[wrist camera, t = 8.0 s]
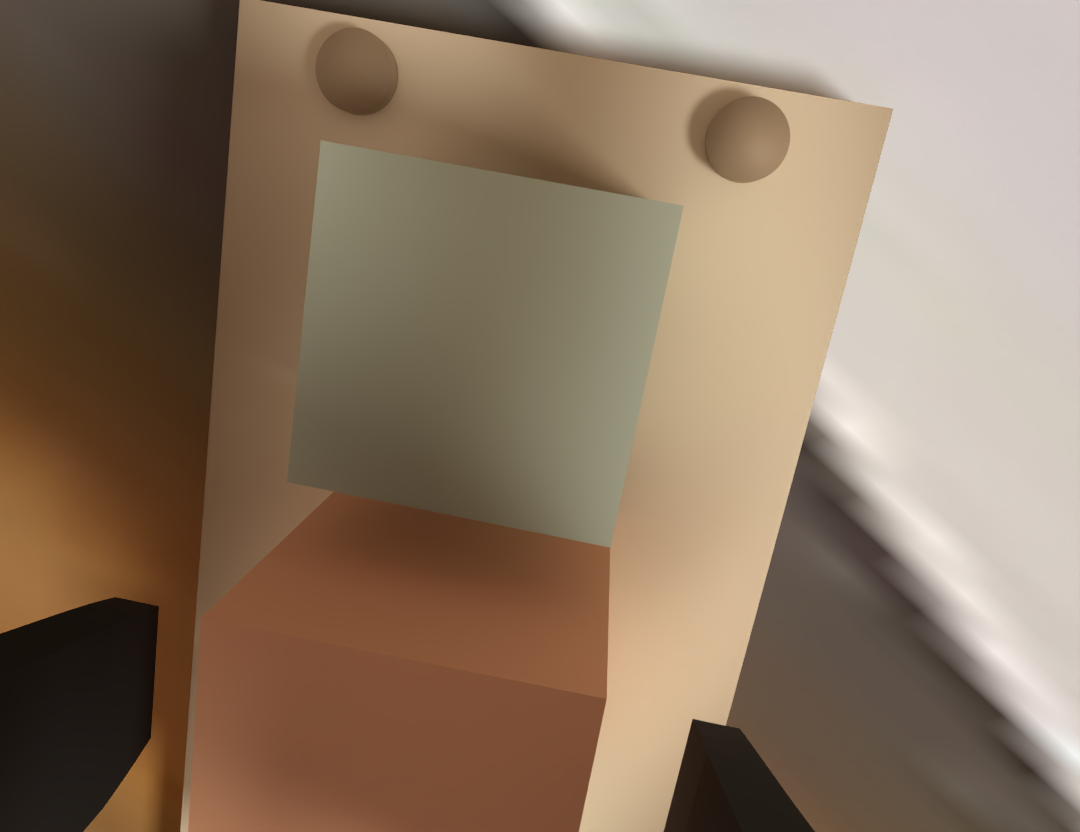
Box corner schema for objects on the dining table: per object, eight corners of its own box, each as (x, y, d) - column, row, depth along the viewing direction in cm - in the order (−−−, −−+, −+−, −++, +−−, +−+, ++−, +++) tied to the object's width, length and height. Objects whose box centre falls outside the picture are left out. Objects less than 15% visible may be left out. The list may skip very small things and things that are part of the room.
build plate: (197, 885, 18) (38, 1137, 13) (267, 13, 13) (62, -108, 8) (640, 987, 17) (649, 1288, 12) (872, 117, 13) (1028, 53, 8)
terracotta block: (337, 684, 15) (181, 941, 10) (362, 464, 14) (200, 616, 8) (567, 731, 15) (539, 1021, 9) (611, 511, 14) (607, 699, 8)
